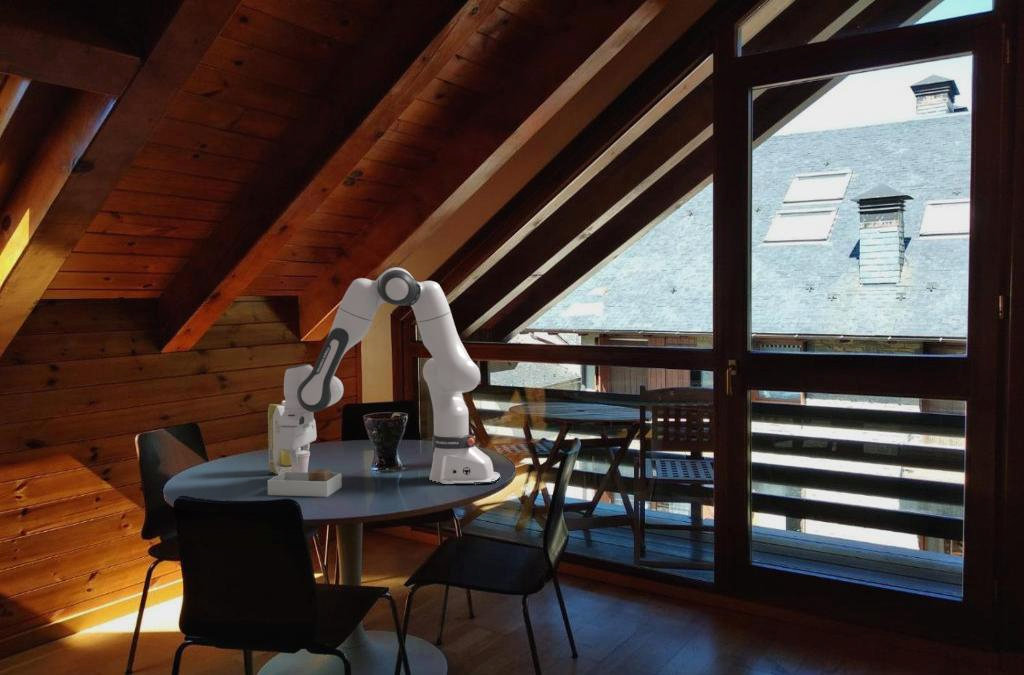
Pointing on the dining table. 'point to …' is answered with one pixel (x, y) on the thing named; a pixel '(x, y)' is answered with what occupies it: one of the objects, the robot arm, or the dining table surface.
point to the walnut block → (319, 475)
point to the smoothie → (301, 461)
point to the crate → (303, 485)
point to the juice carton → (277, 441)
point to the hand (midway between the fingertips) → (299, 460)
